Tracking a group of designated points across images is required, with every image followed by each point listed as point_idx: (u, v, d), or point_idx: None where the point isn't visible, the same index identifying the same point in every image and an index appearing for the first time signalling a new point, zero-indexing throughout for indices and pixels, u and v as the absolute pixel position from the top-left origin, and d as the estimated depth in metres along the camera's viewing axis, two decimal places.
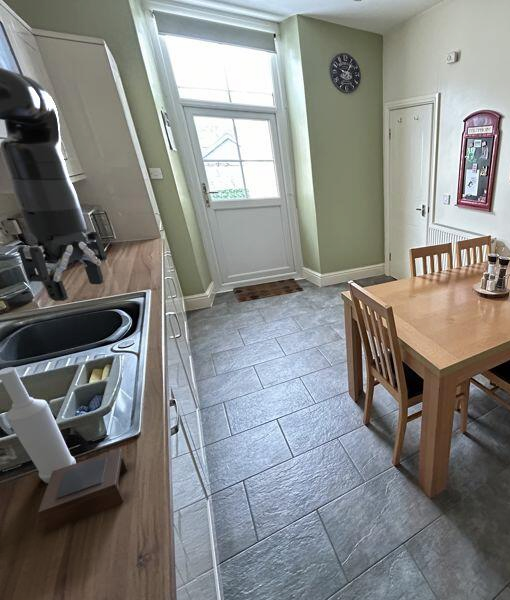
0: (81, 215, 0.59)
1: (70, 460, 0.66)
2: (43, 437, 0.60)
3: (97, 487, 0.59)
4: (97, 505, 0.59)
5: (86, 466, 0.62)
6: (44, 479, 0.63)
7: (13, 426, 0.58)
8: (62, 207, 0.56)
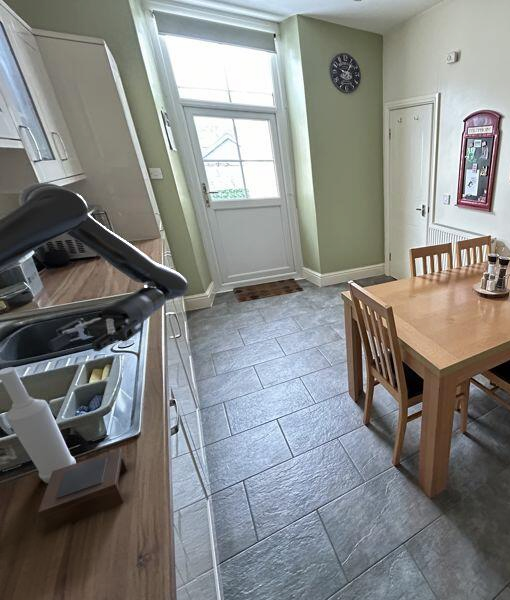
0: None
1: (70, 460, 0.66)
2: (43, 437, 0.60)
3: (97, 487, 0.59)
4: (97, 505, 0.59)
5: (86, 466, 0.62)
6: (44, 479, 0.63)
7: (13, 426, 0.58)
8: (139, 324, 0.84)
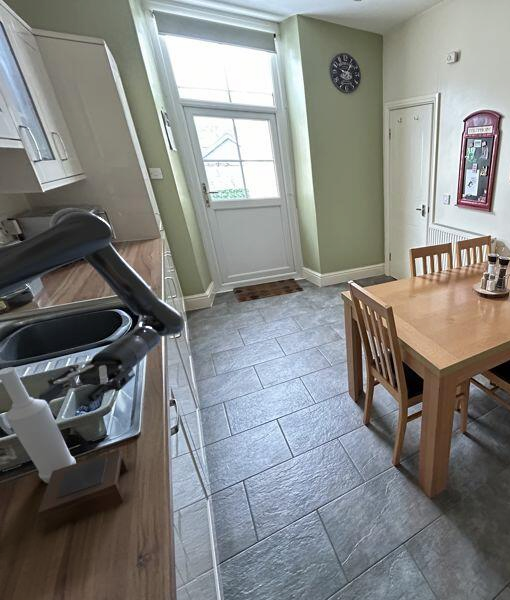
0: None
1: (70, 460, 0.66)
2: (43, 437, 0.60)
3: (97, 487, 0.59)
4: (97, 505, 0.59)
5: (86, 466, 0.62)
6: (44, 479, 0.63)
7: (13, 426, 0.58)
8: None
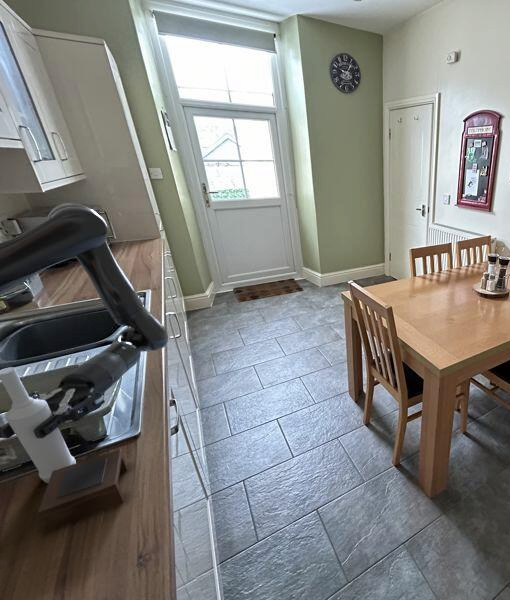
0: None
1: (70, 460, 0.66)
2: None
3: (97, 487, 0.59)
4: (97, 505, 0.59)
5: (86, 466, 0.62)
6: (44, 479, 0.63)
7: (13, 426, 0.58)
8: None
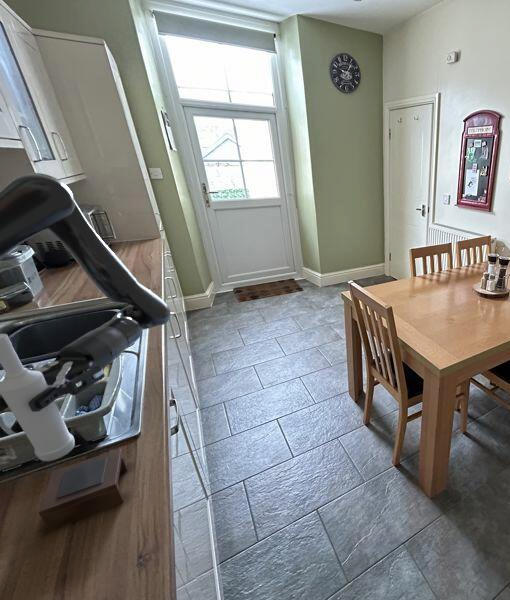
0: None
1: (68, 437, 0.62)
2: None
3: (97, 487, 0.59)
4: (97, 505, 0.59)
5: (86, 466, 0.62)
6: (40, 457, 0.59)
7: (6, 398, 0.53)
8: (108, 363, 0.71)
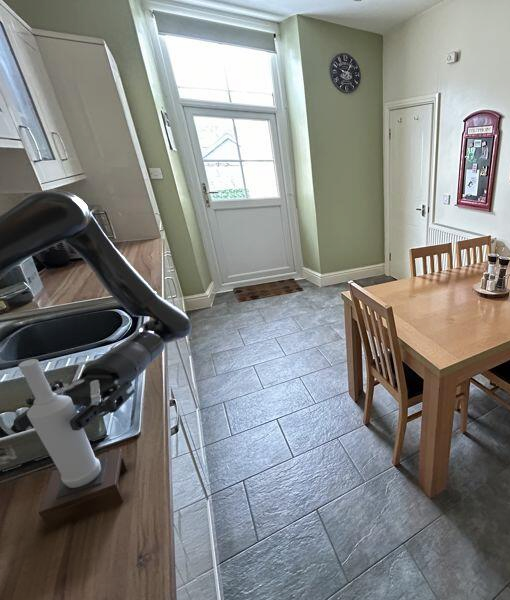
0: None
1: (95, 462, 0.60)
2: (67, 436, 0.55)
3: (97, 487, 0.59)
4: (97, 505, 0.59)
5: None
6: (67, 483, 0.57)
7: (35, 425, 0.52)
8: None
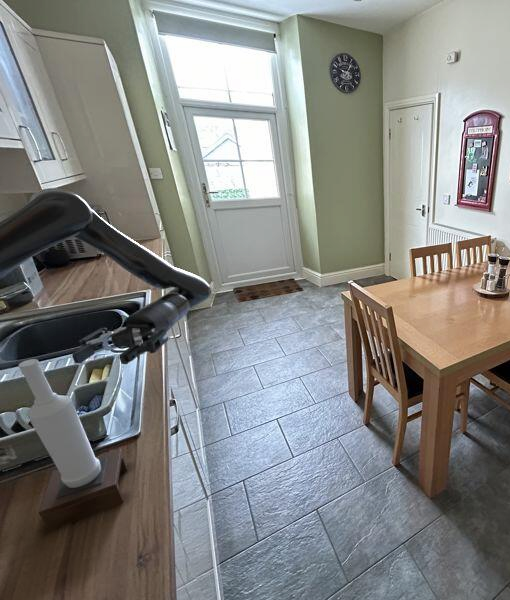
0: None
1: (95, 462, 0.60)
2: (67, 436, 0.55)
3: (97, 487, 0.59)
4: (97, 505, 0.59)
5: None
6: (67, 483, 0.57)
7: (35, 425, 0.52)
8: None
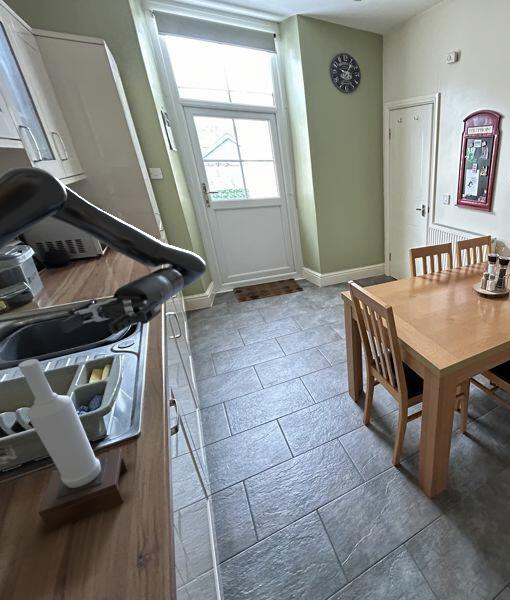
0: None
1: (95, 462, 0.60)
2: (67, 436, 0.55)
3: (97, 487, 0.59)
4: (97, 505, 0.59)
5: None
6: (67, 483, 0.57)
7: (35, 425, 0.52)
8: None
